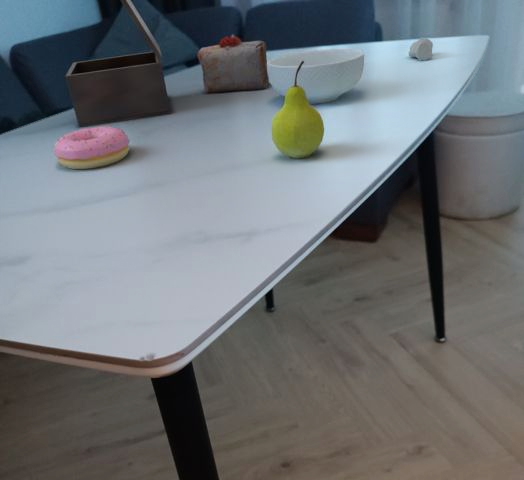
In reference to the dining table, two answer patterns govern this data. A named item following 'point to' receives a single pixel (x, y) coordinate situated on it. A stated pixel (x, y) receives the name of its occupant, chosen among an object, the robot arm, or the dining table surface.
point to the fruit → (297, 124)
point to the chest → (117, 89)
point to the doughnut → (92, 147)
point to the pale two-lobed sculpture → (421, 49)
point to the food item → (234, 65)
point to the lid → (142, 28)
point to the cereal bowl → (317, 73)
